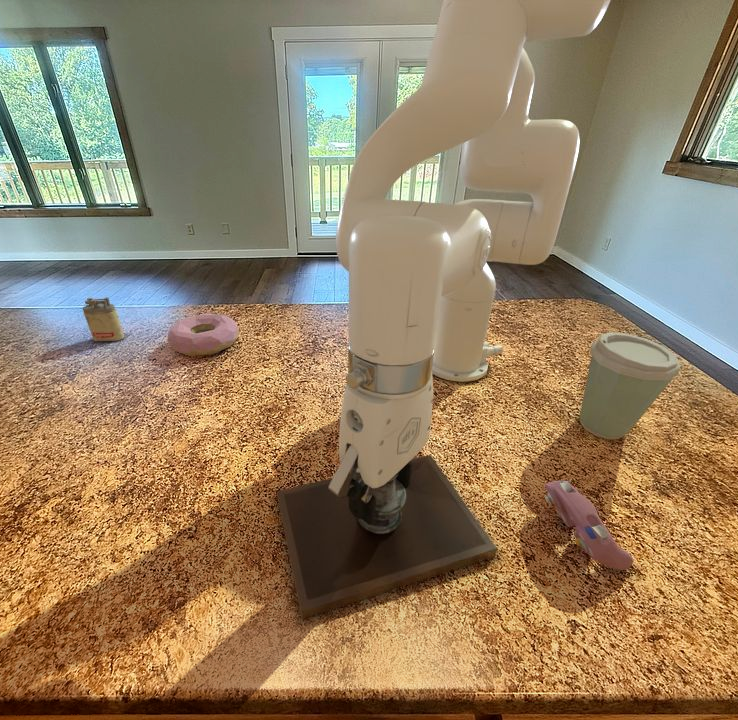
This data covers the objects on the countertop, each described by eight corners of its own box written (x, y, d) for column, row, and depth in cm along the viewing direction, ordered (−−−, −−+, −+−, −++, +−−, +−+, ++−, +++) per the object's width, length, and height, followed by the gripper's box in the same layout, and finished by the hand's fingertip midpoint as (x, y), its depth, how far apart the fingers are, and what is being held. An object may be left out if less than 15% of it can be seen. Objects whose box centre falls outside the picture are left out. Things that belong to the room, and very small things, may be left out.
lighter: (90, 342, 89) (75, 301, 84) (98, 334, 92) (84, 295, 87) (121, 341, 89) (107, 301, 84) (128, 334, 92) (115, 295, 87)
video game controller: (544, 508, 49) (533, 476, 46) (579, 495, 49) (570, 461, 45) (595, 585, 41) (586, 552, 38) (638, 570, 40) (633, 536, 37)
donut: (253, 338, 89) (250, 319, 87) (202, 367, 78) (197, 346, 76) (208, 324, 97) (204, 305, 94) (155, 348, 86) (150, 328, 83)
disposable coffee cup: (630, 414, 64) (669, 334, 56) (653, 458, 55) (702, 370, 47) (560, 402, 67) (587, 324, 59) (570, 442, 58) (604, 357, 50)
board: (429, 462, 55) (430, 454, 54) (495, 556, 42) (497, 548, 42) (277, 499, 49) (276, 491, 49) (301, 619, 37) (301, 611, 36)
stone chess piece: (402, 540, 42) (412, 461, 36) (350, 531, 43) (351, 452, 37) (405, 497, 47) (414, 421, 41) (358, 490, 48) (360, 415, 42)
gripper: (359, 426, 27) (355, 574, 36) (472, 342, 37) (447, 472, 47) (289, 386, 31) (302, 526, 40) (408, 321, 42) (397, 444, 51)
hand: (380, 496), depth 43 cm, fingers closed on stone chess piece, 5 cm apart
